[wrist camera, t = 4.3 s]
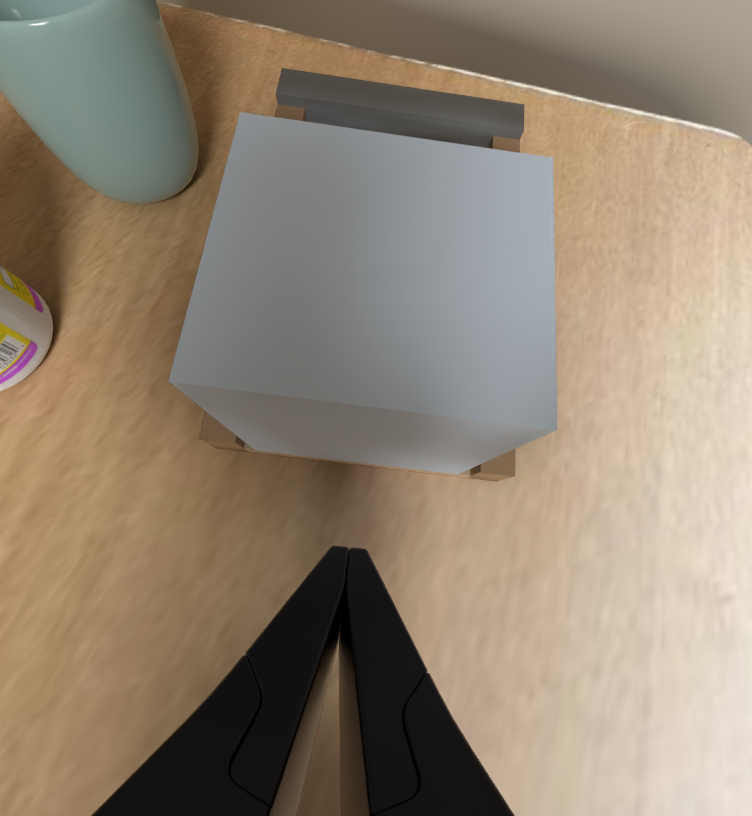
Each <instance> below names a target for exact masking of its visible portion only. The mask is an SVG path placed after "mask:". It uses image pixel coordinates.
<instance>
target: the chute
mask: <svg viewBox="0 0 752 816" xmlns="http://www.w3.org/2000/svg"><path fill="white" fill-rule="evenodd" d="M276 97H277V103H278V105H277V109H276V113H275V117H278V118H285V119H292V120H298V121H305V122H312V123H319V124H326V125H333V126H339V127H346V128H353V129H360V130H367V131H374V132H381V133H387V134H394V135H401V136H408V137H415V138H422V139H428V140H435V141H442V142H449V143H456V144H463V145H470V146H476V147H483V148H490V149H497V150H504V151H511V152H517V153H520V138H521V136H522V133H523V131H524V104H517V103H511V102H504V101H497V100H491V99H484V98H477V97H471V96H464V95H457V94H451V93H444V92H437V91H431V90H424V89H417V88H411V87H404V86H397V85H391V84H384V83H377V82H371V81H364V80H357V79H351V78H344V77H337V76H331V75H324V74H317V73H311V72H304V71H297V70H291V69H284V68H282V70H281V75H280V79H279V83H278V87H277V91H276ZM199 439H201V440H203V441H205V442H206V443H208V444H210V445H212V446H213V447H215V448H221V449H229V450H237V451H246V452H254V453H263V454H271V455H279V456H288V457H296V458H305V459H313V460H321V461H330V462H338V463H347V464H355V465H363V466H372V467H380V468H389V469H397V470H406V471H414V472H422V473H431V474H439V475H448V476H456V477H464V478H473V479H481V480H490V481H500V480H503V479H507V478H510V477H514V476H515V449H513V450H511V451H509V452H507V453H504V454H502V455H500V456H498V457H495V458H493V459H491V460H489V461H486V462H484V463H482V464H480V465H478V466H475V467H473V468H471V469H469V470H466V471H464V472H462V473H460V474H450V473H442V472H433V471H425V470H416V469H408V468H400V467H391V466H383V465H374V464H366V463H358V462H349V461H341V460H332V459H324V458H316V457H307V456H299V455H290V454H282V453H274V452H265V451H257V450H254V449H253V448H252V447H250V446H249V445H248V444H247V443H245V442H244V441H243V440H242V439H240V438H239V437H238V436H236V435H235V434H234V433H233V432H231V431H230V430H229V429H228V428H226V427H225V426H224V425H223V424H221V423H220V422H219V421H217V420H216V419H215V418H214V417H212V416H211V415H210V414H209V413H207V412H206V411H205V415H204V420H203V424H202V428H201V432H200V437H199Z"/></svg>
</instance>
